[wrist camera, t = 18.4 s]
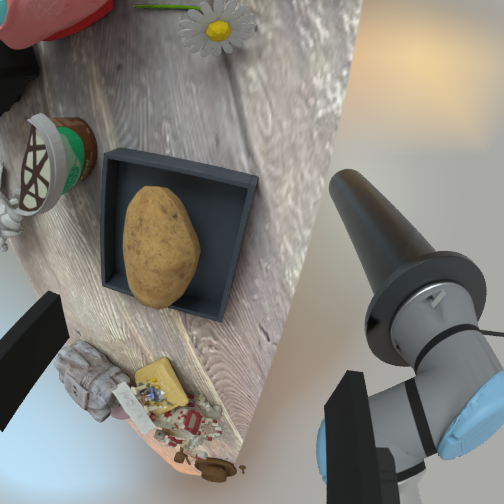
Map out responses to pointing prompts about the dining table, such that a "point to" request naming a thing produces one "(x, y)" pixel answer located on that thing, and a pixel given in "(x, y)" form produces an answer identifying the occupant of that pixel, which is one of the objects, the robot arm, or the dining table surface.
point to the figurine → (90, 378)
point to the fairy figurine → (8, 215)
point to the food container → (54, 161)
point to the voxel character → (187, 426)
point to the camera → (15, 73)
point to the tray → (199, 211)
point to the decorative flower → (213, 26)
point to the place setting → (210, 467)
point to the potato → (159, 247)
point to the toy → (47, 19)
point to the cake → (151, 393)
